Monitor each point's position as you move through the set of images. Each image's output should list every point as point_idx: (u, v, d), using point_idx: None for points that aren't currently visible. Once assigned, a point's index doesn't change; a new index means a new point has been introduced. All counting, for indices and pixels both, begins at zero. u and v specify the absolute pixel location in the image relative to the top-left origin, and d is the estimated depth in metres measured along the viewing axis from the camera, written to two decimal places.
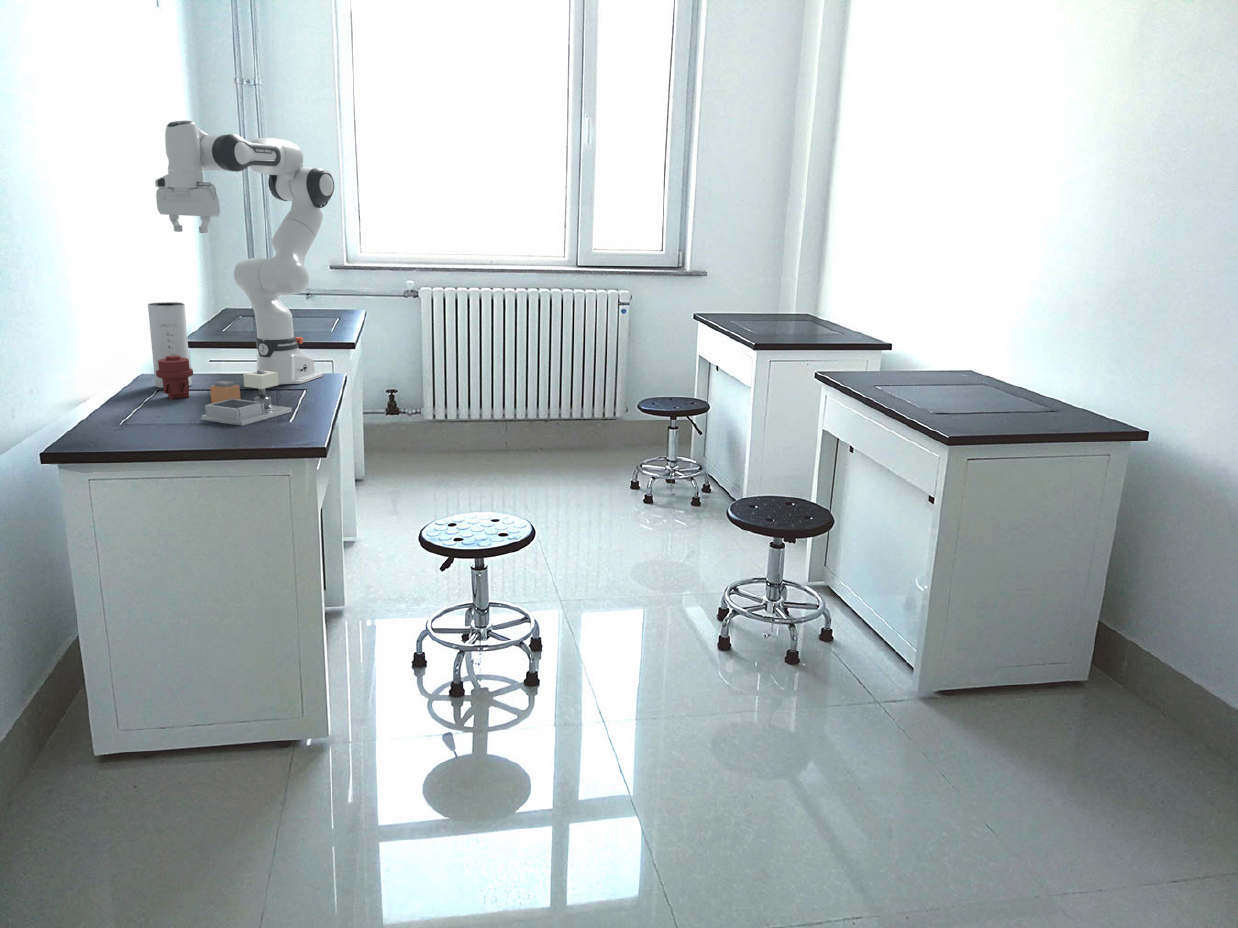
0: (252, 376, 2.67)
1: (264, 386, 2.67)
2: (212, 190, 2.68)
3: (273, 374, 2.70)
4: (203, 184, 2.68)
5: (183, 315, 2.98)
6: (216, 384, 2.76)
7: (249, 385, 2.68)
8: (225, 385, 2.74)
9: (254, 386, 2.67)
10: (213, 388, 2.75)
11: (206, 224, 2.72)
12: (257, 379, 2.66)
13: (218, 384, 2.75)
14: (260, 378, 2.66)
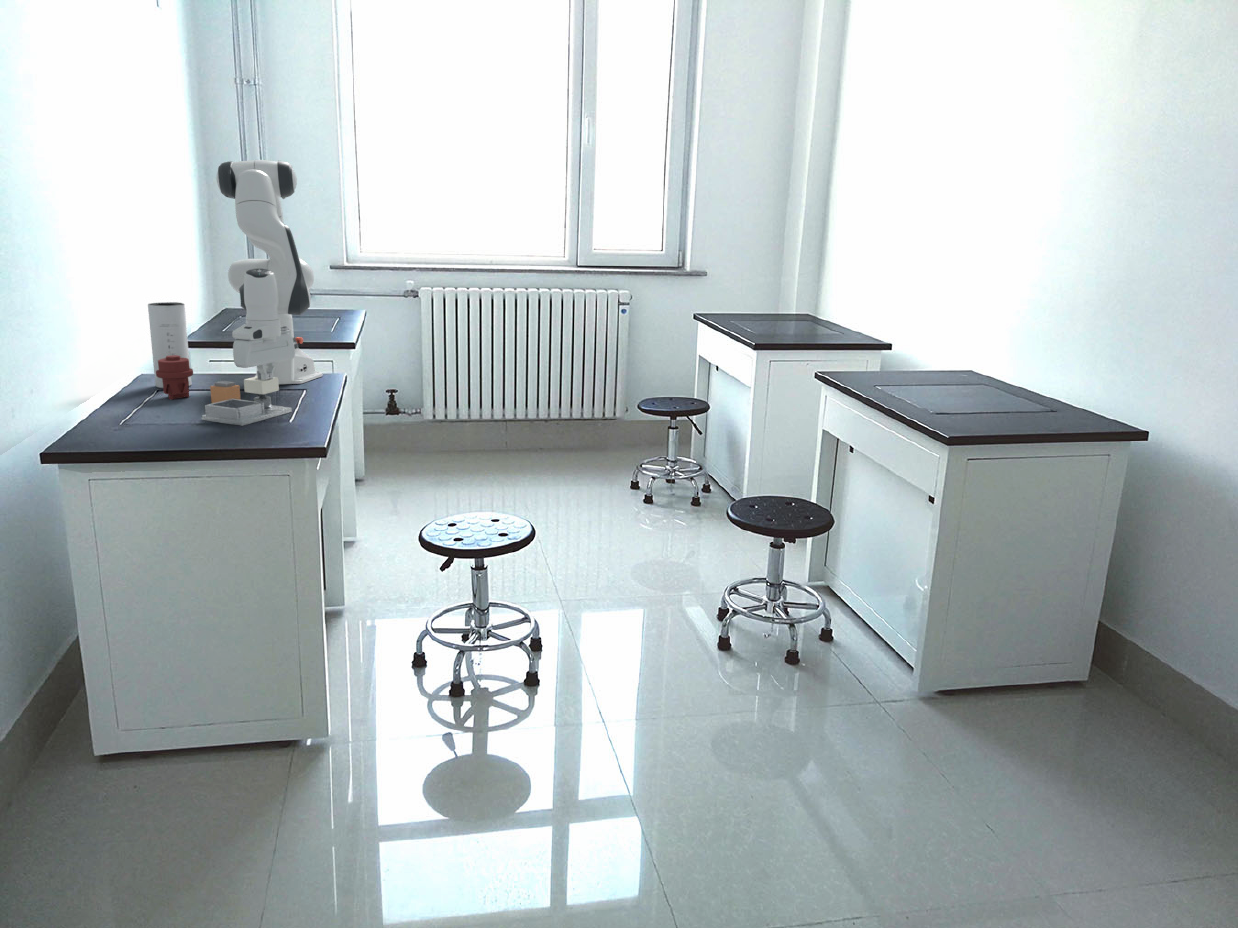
0: (252, 382, 2.67)
1: (264, 392, 2.68)
2: (290, 333, 2.74)
3: (273, 380, 2.70)
4: (282, 329, 2.71)
5: (183, 315, 2.98)
6: (216, 384, 2.76)
7: (249, 391, 2.69)
8: (225, 385, 2.74)
9: (254, 392, 2.68)
10: (213, 388, 2.75)
11: None
12: (257, 385, 2.67)
13: (218, 384, 2.75)
14: (260, 384, 2.66)
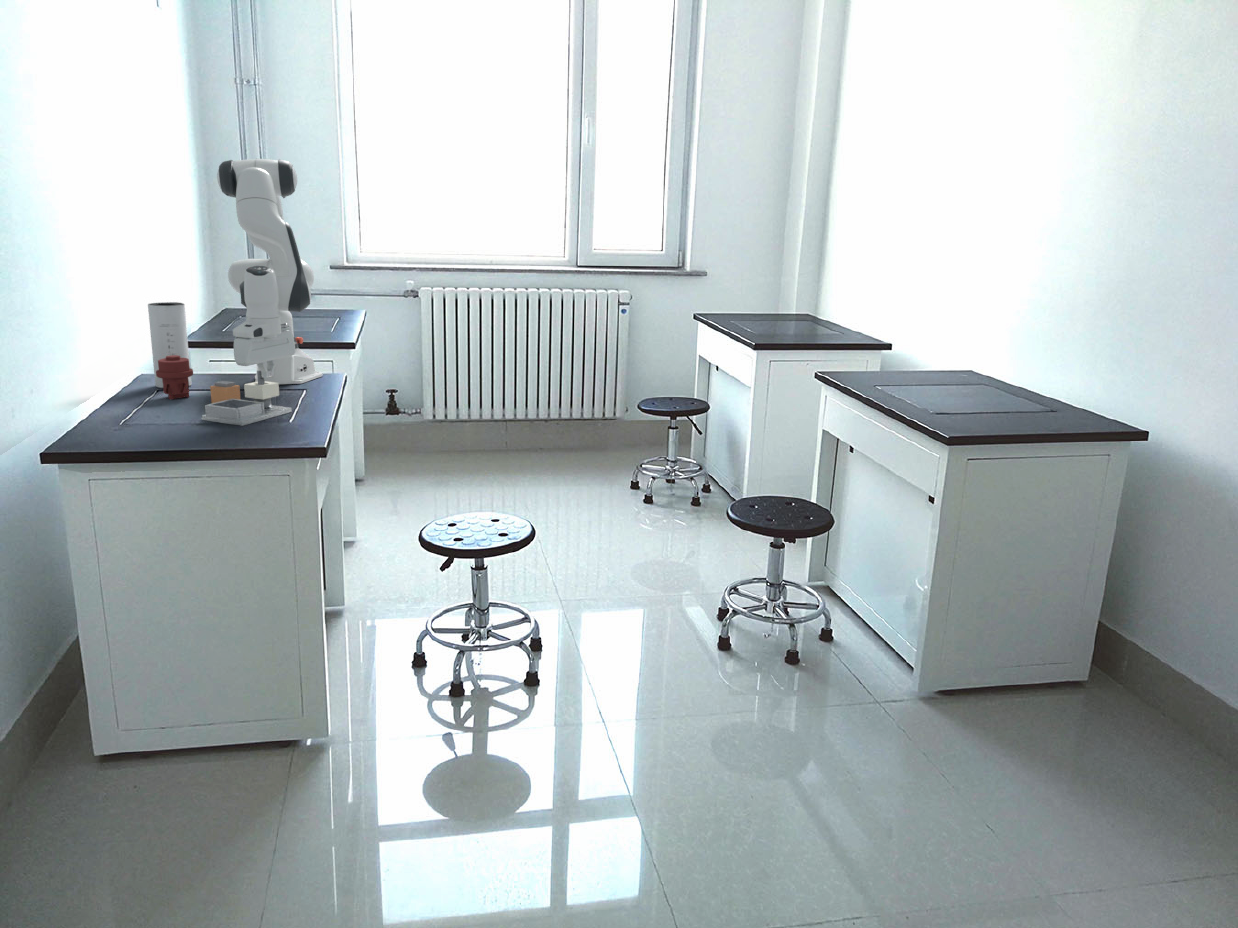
0: (253, 387, 2.68)
1: (265, 397, 2.68)
2: (290, 330, 2.75)
3: (274, 385, 2.71)
4: (282, 326, 2.71)
5: (183, 315, 2.98)
6: (216, 384, 2.76)
7: (250, 396, 2.69)
8: (225, 385, 2.74)
9: (255, 397, 2.68)
10: (213, 388, 2.75)
11: None
12: (258, 390, 2.67)
13: (218, 384, 2.75)
14: (260, 389, 2.67)
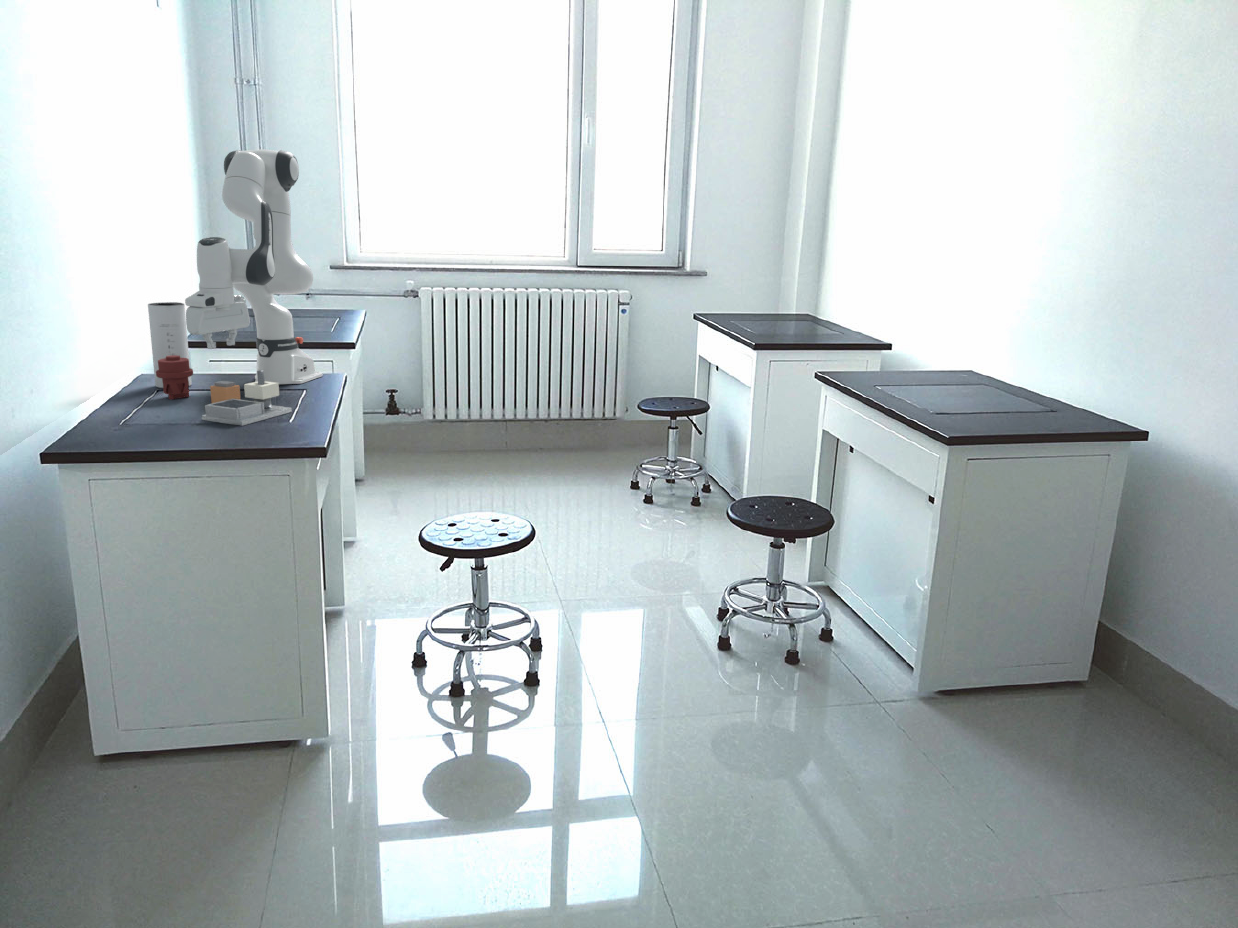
0: (253, 387, 2.68)
1: (265, 397, 2.68)
2: (244, 302, 2.79)
3: (274, 385, 2.71)
4: (236, 297, 2.76)
5: (183, 315, 2.98)
6: (216, 384, 2.76)
7: (250, 396, 2.69)
8: (225, 385, 2.74)
9: (255, 397, 2.68)
10: (213, 388, 2.75)
11: None
12: (258, 390, 2.67)
13: (218, 384, 2.75)
14: (260, 389, 2.67)
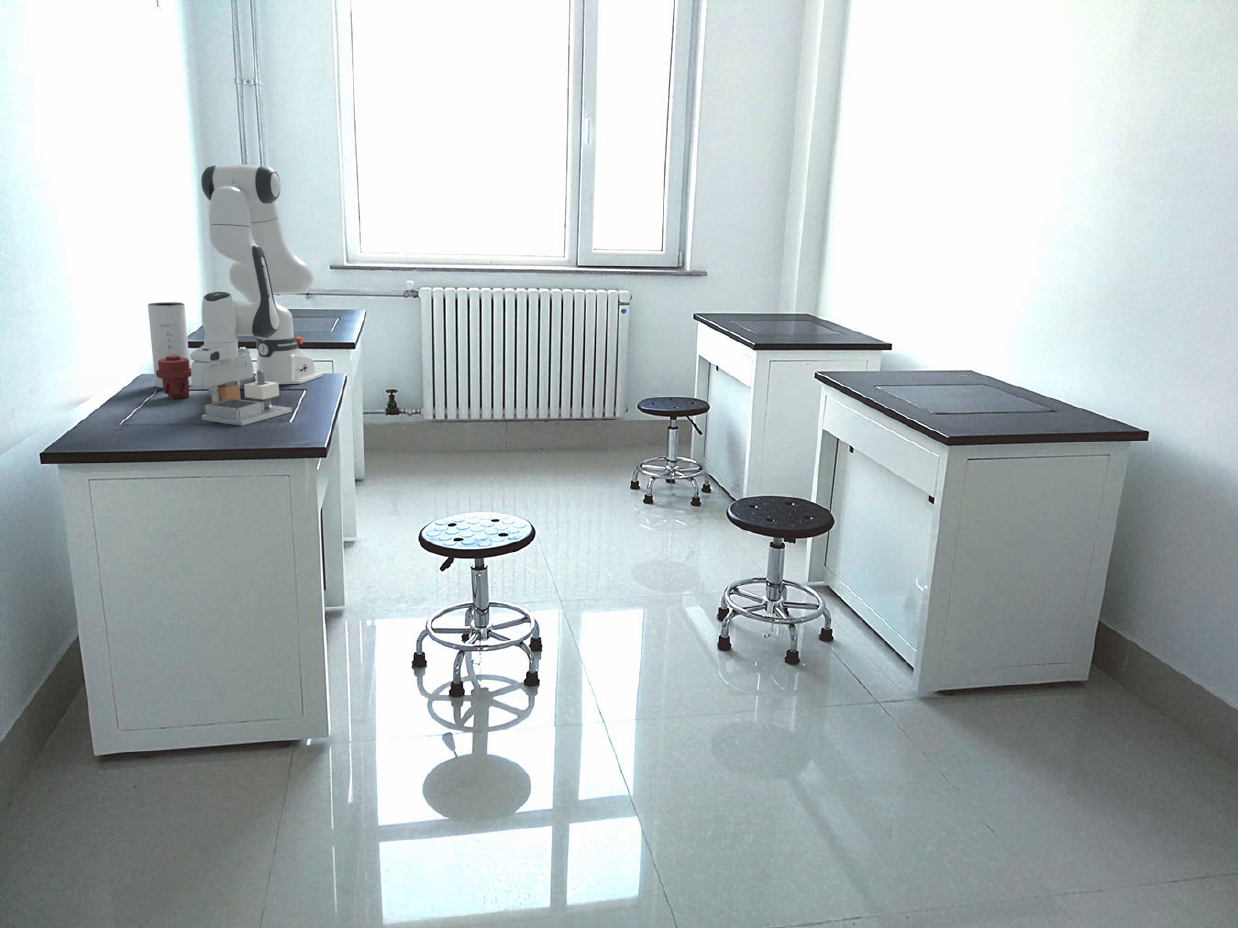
0: (253, 387, 2.68)
1: (265, 397, 2.68)
2: (248, 353, 2.83)
3: (274, 385, 2.71)
4: (240, 350, 2.80)
5: (183, 315, 2.98)
6: None
7: (250, 396, 2.69)
8: (225, 385, 2.74)
9: (255, 397, 2.68)
10: None
11: None
12: (258, 390, 2.67)
13: None
14: (260, 389, 2.67)
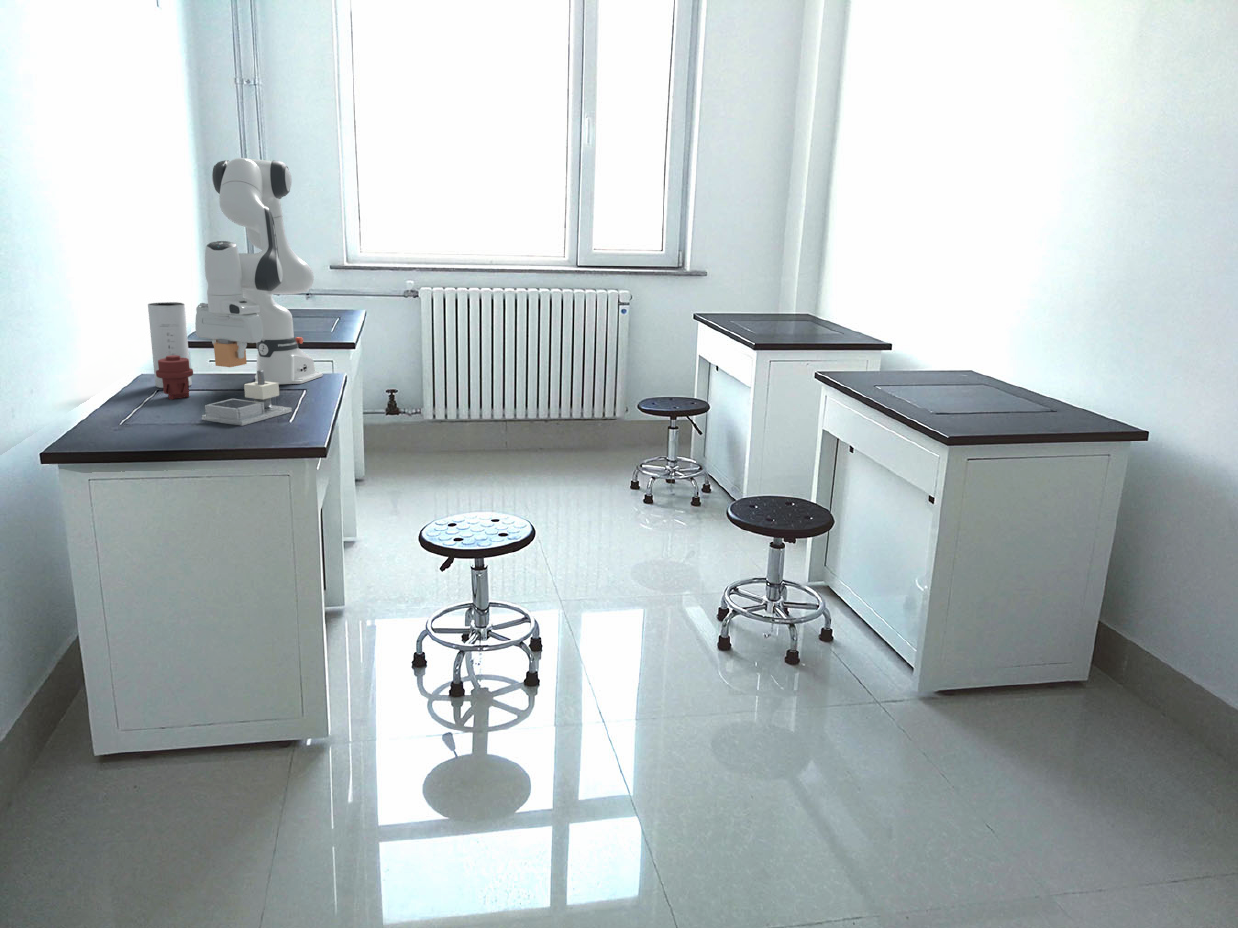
0: (253, 387, 2.68)
1: (265, 397, 2.68)
2: None
3: (274, 385, 2.71)
4: None
5: (183, 315, 2.98)
6: (230, 342, 2.56)
7: (250, 396, 2.69)
8: None
9: (255, 397, 2.68)
10: (231, 346, 2.55)
11: None
12: (258, 390, 2.67)
13: (231, 341, 2.56)
14: (260, 389, 2.67)
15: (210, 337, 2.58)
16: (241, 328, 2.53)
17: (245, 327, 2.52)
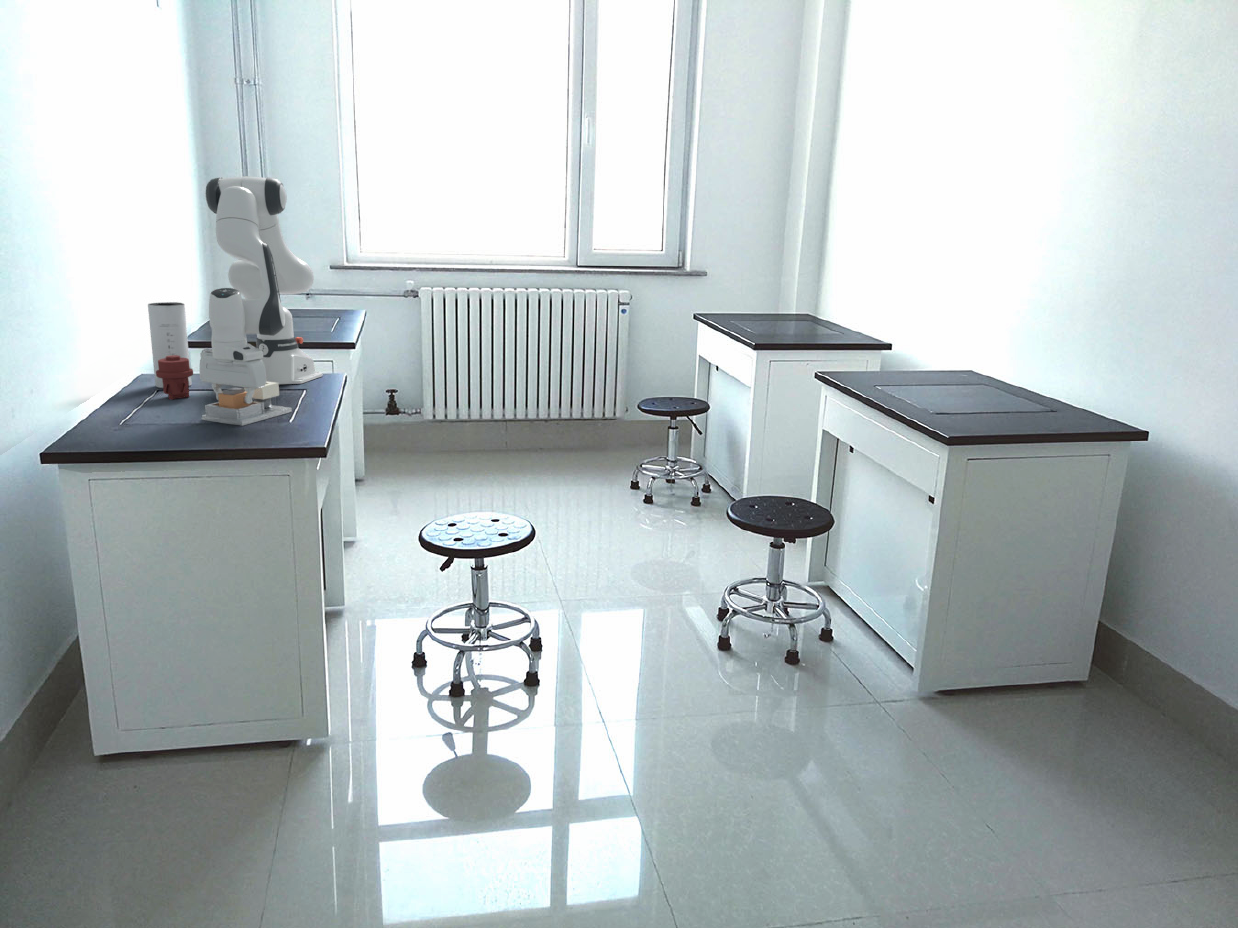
0: None
1: (265, 397, 2.68)
2: None
3: (274, 385, 2.71)
4: None
5: (183, 315, 2.98)
6: (234, 393, 2.60)
7: None
8: (243, 390, 2.62)
9: (255, 397, 2.68)
10: (236, 397, 2.59)
11: None
12: (258, 390, 2.67)
13: (236, 391, 2.60)
14: (260, 389, 2.67)
15: (214, 382, 2.61)
16: (245, 374, 2.56)
17: (249, 373, 2.55)
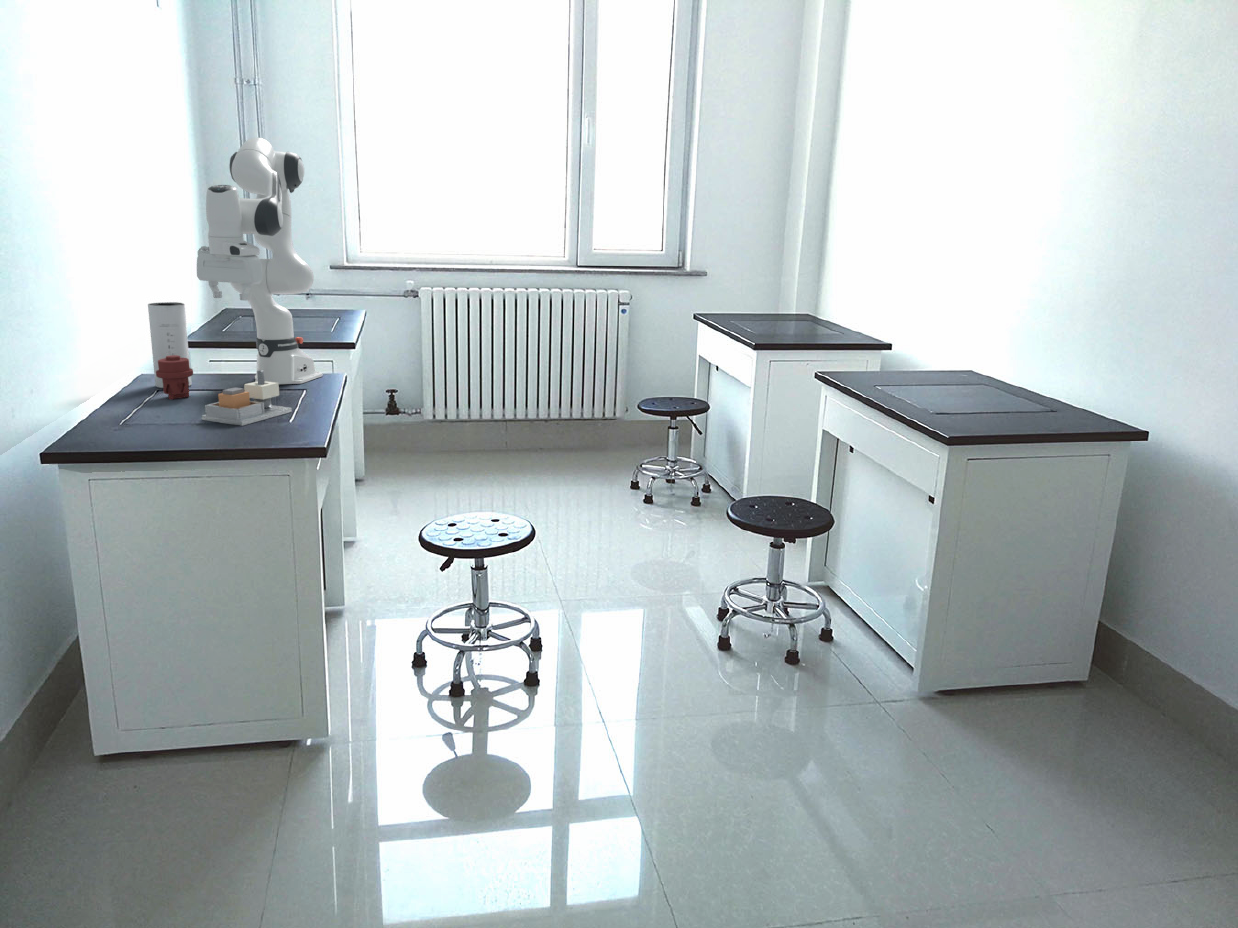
0: (253, 387, 2.68)
1: (265, 397, 2.68)
2: None
3: (274, 385, 2.71)
4: None
5: (183, 315, 2.98)
6: (234, 393, 2.60)
7: (250, 396, 2.69)
8: (243, 390, 2.62)
9: (255, 397, 2.68)
10: (236, 397, 2.59)
11: None
12: (258, 390, 2.67)
13: (236, 391, 2.60)
14: (260, 389, 2.67)
15: (211, 279, 2.64)
16: (241, 270, 2.59)
17: (245, 269, 2.59)
